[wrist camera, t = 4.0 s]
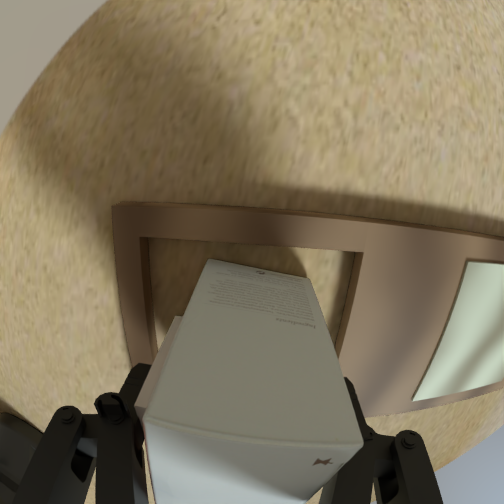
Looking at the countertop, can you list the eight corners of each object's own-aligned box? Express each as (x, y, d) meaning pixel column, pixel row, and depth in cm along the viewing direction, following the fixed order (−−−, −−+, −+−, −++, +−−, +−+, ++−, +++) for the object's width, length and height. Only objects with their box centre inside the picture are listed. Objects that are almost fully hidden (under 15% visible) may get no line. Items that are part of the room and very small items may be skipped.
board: (146, 394, 19) (141, 407, 18) (121, 201, 14) (109, 206, 13) (496, 381, 19) (503, 389, 18) (551, 246, 14) (561, 252, 13)
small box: (208, 254, 15) (136, 414, 5) (312, 276, 16) (371, 443, 6) (191, 368, 18) (152, 512, 8) (275, 383, 18) (281, 530, 8)
